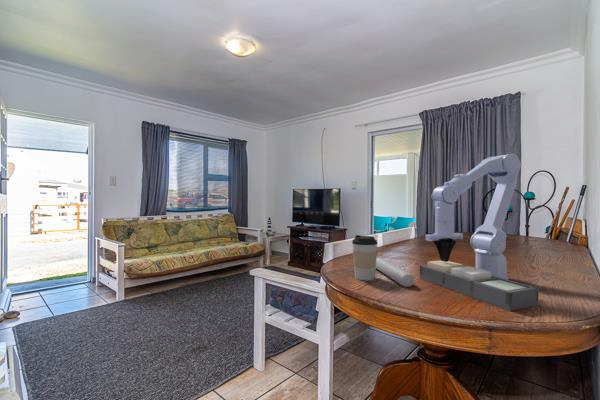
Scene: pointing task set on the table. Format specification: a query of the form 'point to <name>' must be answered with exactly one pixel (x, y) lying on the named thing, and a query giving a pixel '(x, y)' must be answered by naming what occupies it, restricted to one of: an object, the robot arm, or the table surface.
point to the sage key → (503, 285)
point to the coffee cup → (364, 257)
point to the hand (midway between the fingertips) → (444, 261)
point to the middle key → (471, 273)
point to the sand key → (443, 265)
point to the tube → (394, 272)
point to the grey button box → (483, 289)
